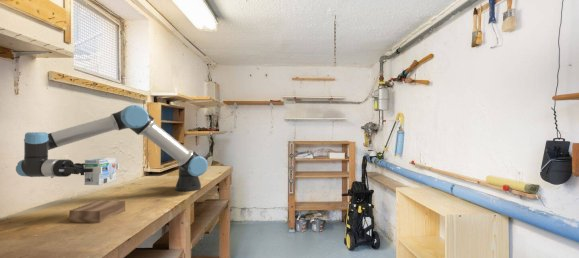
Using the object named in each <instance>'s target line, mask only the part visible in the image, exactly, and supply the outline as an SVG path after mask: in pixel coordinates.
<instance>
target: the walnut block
mask: <svg viewBox="0 0 579 258" xmlns="http://www.w3.org/2000/svg"><path fill="white" fill-rule="evenodd" d="M124 212H126V200H96V201H94V202H91V203H88V204H85V205H81V206H79V207H76V208H73V209H70V210H69V222H70V223H95V224H96V223H98V224H99V223H102V222H104V221H107V220H109V219H111V218H113V217H115V216H117V215H118V216H119V215H120V214H122V213H124Z"/></svg>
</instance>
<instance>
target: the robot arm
mask: <svg viewBox="0 0 579 258" xmlns="http://www.w3.org/2000/svg"><path fill="white" fill-rule="evenodd" d="M155 121H156V120H155V118H154V117H152V115H150V114H149V113H148V111H147V109H145V108H144V107H143V106H140V105H136V104H132V105H128V106H125V107H124V108H123V109H122V110H119V111H117V112H113V113H111V114H110V115H109V116H106V117H103V118H99V119H96V120H93V121H89V122H85V123H81V124H77V125H74V126H71V127H68V128H64V129H59V130H56V131H54V132H53V131H52V132H50V133H47V132H45V131H43V132H42V131H41V132H40V131H39V132H36V131H35V132H33V131H32V132H31V131H30V132H29V131H28V132H25V134H24V139H23V142H24V143H23V144H24V146H23V148H24V152H23V153H24V157H23V159H21V160H19V161H18V162H17V165H16V166H15V171H16V173H17V175H18V176H20V177H29V178H35V177H36V178H38V177H41V178H42V177H43V178H45V177H46V178H48V177H50V179H54V177H55V178H57V177H59V178H61V177H62V178H63V177H64V178H66V177H70V176H71V175H79V174H80V176H85V173H102V167H85V162H84V163H80V162H75V163H74V162H73V161H72V160H71V159H61V158H60V159H58V158H57V159H55V158H54V159H52V158H49V151H50V150H53V149H56V148H60V147H63V146H67V145H69V144H72V143H76V142H80V141H83V140H85V139H88V138H89V139H90V138H92V137H95V136H99V135H102V134H105V133H109V132H112V131H122V130H126V129H130V130H131V131H132V132H134V133H135V134H136V135H138V136H140V135H141V136H144V137H145V138H147V140H149V141H151V142H152V143H153V144H155V146H157V147H158V148H160V149H161V150H162V151H163V152H165V154H167V155H168V156H170V157H171V158H172V159H173V160H176V162H177V165H178V178H177V181H176V184H175V191H177V192H192V191H198V190H201V189H202V183H201V182H200V181H201V180H200V178H199V176H202V175H204V174H205V173H206V172H207V170H208V167H209V166H208V165H209V163H208V161H207V159H206V158H205V157H203V156H202V155H199V153H198V152H195V150H192V149H188V148H186V146H184V145H183V144H181V142H180V141H178V140H177V139H175V137H173V136H172V135H171V134H169V133H168V132H166V130H164V129H163V128H162V127H160V126H159V125H158V124H157V123H156V122H155ZM116 170H120V163H117V162H116Z"/></svg>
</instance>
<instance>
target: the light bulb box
mask: <svg viewBox="0 0 579 258" xmlns="http://www.w3.org/2000/svg"><path fill="white" fill-rule="evenodd" d="M84 163H85V167H102V173H85V172H84V186H101V185H102V186H103V185H105V184H108V183H113V182H116V180H117V179H116V177H117V169H116V163H117V158H116V157H99V158H90V159H84Z"/></svg>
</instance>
